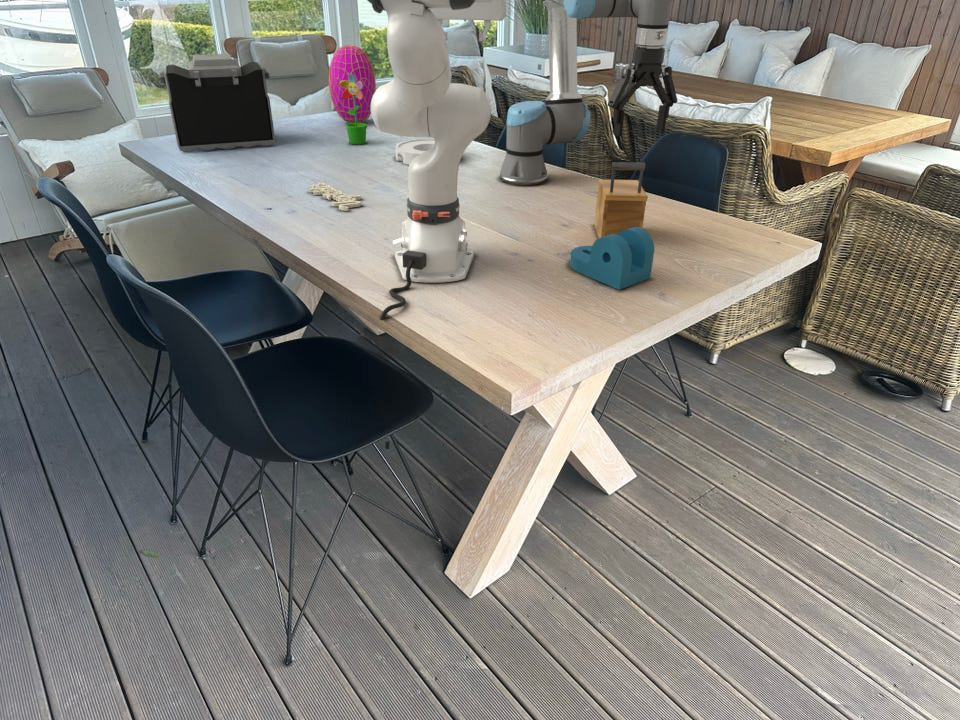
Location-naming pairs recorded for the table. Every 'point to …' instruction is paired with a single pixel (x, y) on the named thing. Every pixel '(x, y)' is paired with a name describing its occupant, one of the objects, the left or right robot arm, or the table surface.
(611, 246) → the blue clevis bracket
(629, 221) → the chest
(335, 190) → the decorative sign
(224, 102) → the electronic device
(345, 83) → the potted flower
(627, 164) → the lid
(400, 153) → the ashtray
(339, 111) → the decorative egg
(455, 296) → the table surface
